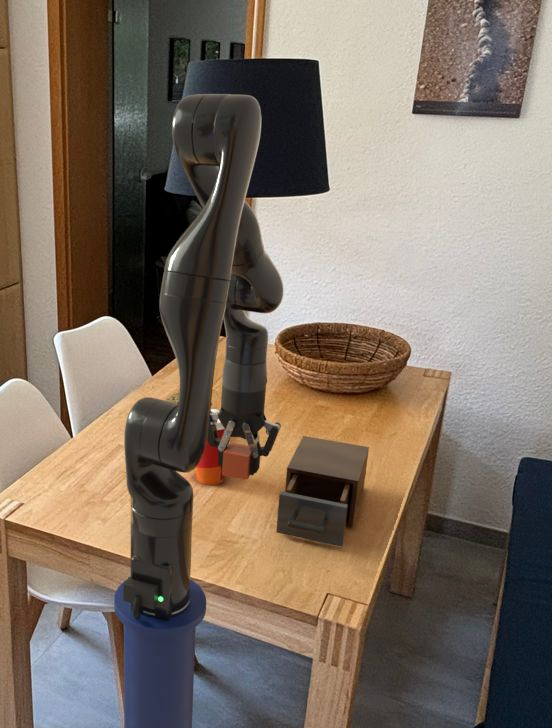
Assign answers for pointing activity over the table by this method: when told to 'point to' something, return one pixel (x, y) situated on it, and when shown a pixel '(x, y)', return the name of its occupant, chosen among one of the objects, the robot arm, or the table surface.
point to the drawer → (314, 509)
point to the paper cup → (210, 461)
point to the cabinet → (332, 466)
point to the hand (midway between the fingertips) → (238, 470)
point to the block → (236, 461)
